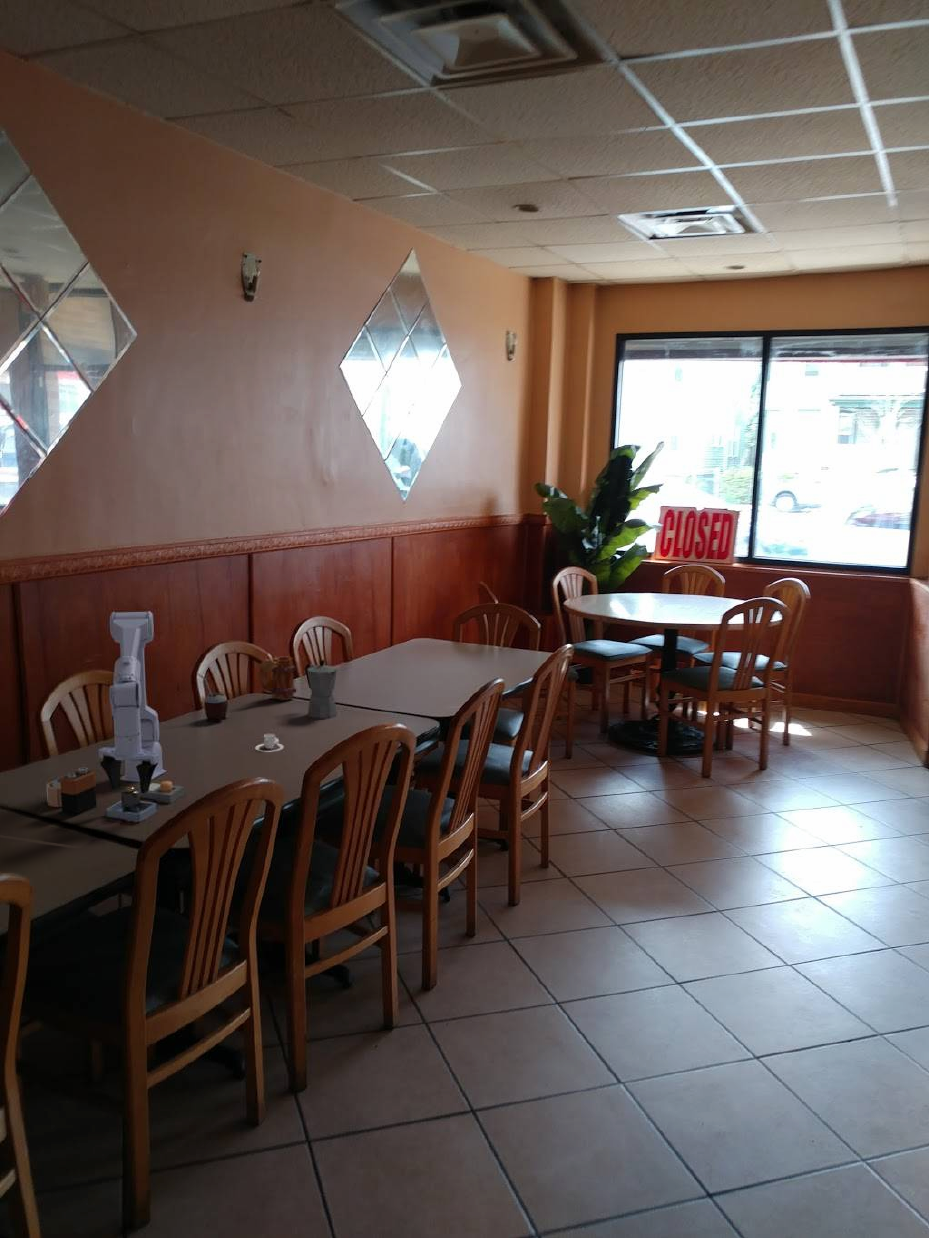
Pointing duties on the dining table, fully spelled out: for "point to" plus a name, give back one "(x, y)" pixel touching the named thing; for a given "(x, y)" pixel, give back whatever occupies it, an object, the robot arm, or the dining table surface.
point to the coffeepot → (321, 690)
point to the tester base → (163, 793)
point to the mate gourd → (215, 705)
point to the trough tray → (117, 812)
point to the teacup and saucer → (269, 743)
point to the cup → (53, 795)
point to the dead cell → (57, 782)
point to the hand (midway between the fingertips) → (130, 789)
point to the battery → (78, 792)
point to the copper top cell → (131, 800)
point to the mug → (278, 677)
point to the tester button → (166, 786)
